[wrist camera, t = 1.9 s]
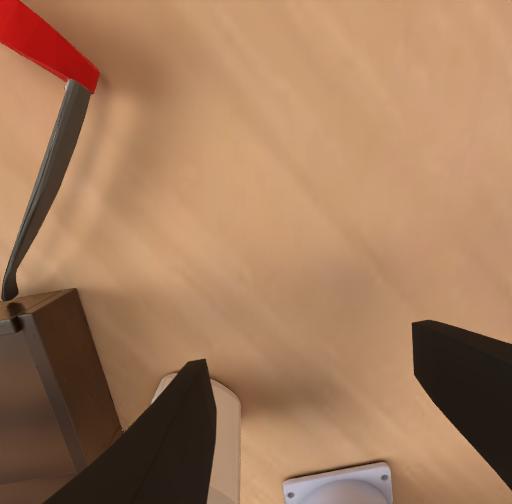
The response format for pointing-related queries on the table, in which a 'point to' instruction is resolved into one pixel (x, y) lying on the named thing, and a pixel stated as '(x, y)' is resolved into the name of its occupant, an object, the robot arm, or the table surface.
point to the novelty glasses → (71, 119)
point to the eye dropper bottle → (222, 444)
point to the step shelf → (49, 397)
